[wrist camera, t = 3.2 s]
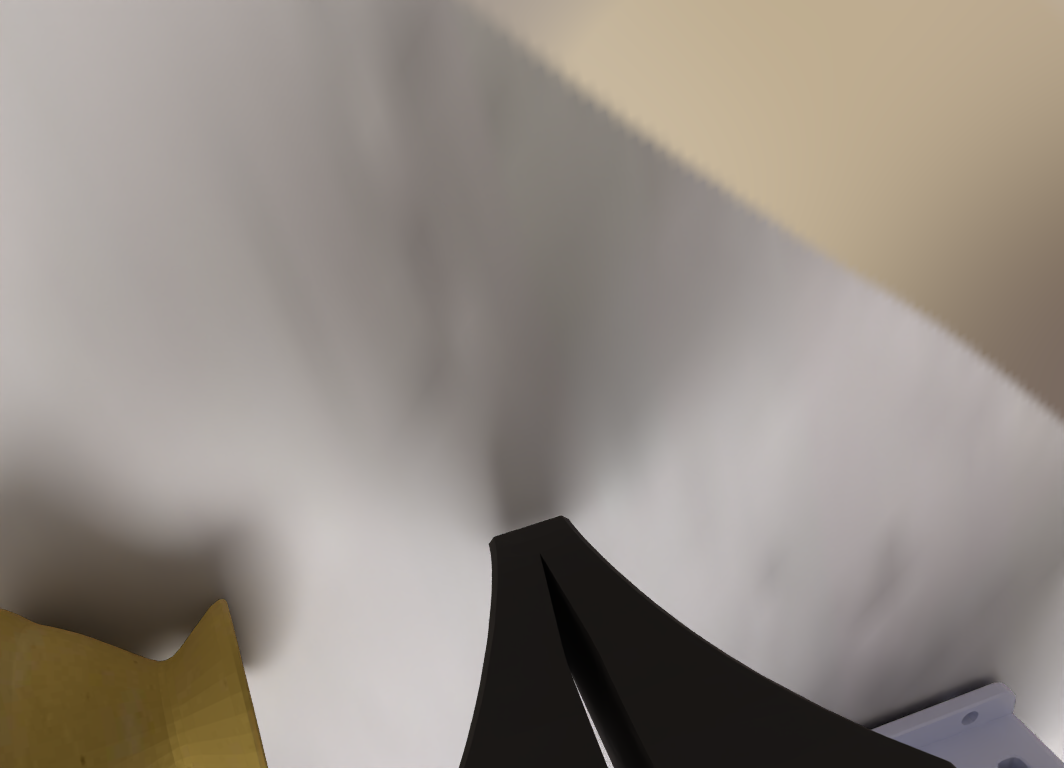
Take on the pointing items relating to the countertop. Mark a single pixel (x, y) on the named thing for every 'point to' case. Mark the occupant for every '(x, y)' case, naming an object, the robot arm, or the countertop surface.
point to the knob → (124, 700)
